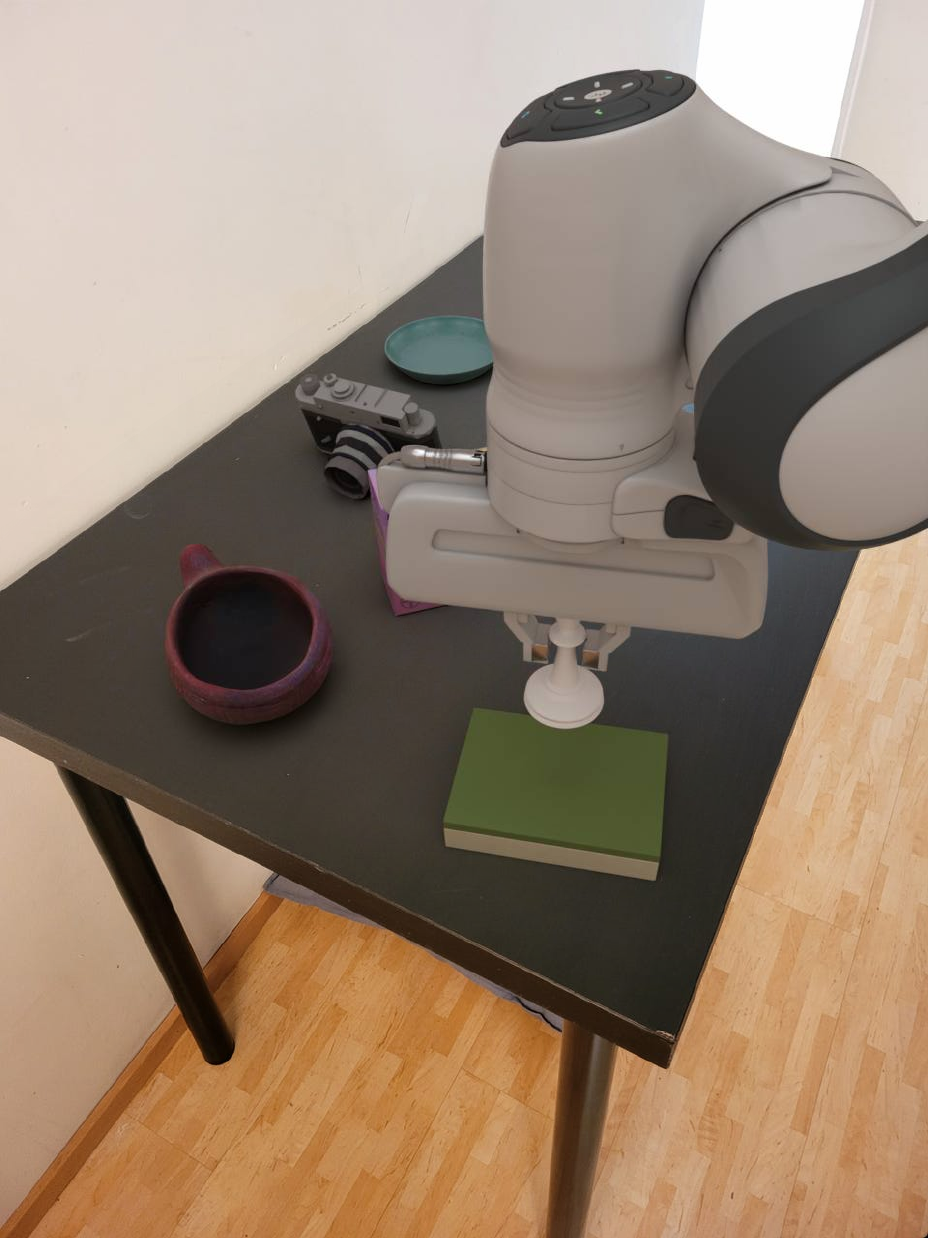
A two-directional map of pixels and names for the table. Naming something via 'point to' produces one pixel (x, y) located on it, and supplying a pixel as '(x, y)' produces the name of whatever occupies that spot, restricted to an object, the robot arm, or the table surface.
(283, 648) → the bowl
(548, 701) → the chess piece
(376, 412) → the camera
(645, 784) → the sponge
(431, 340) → the saucer
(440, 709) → the table surface
